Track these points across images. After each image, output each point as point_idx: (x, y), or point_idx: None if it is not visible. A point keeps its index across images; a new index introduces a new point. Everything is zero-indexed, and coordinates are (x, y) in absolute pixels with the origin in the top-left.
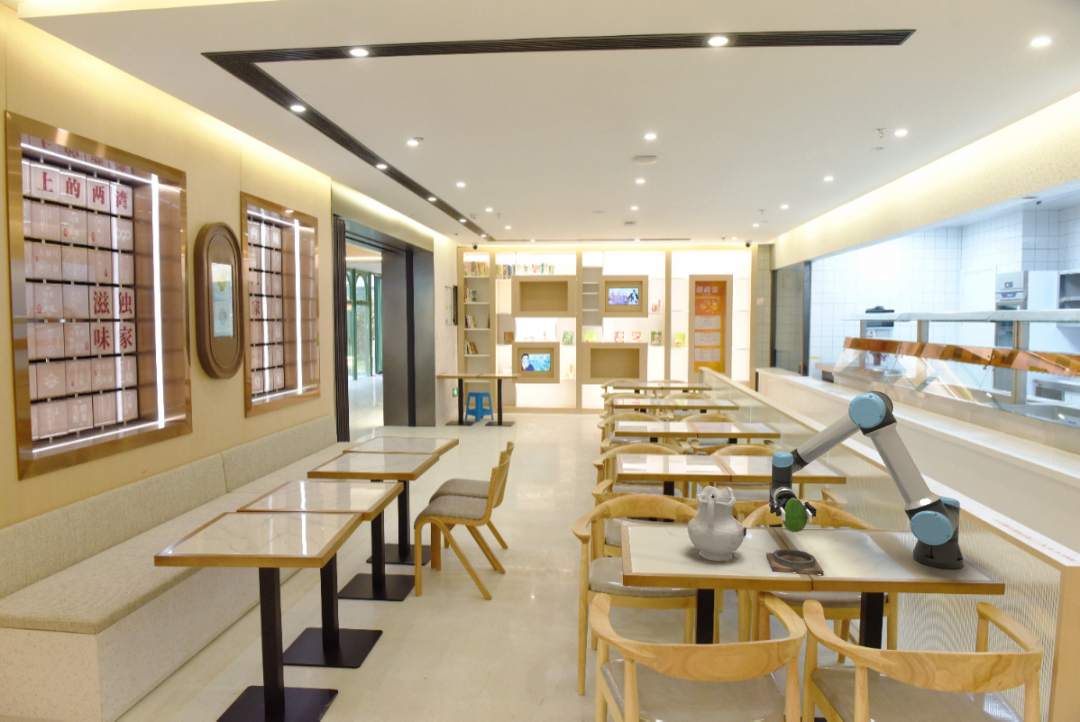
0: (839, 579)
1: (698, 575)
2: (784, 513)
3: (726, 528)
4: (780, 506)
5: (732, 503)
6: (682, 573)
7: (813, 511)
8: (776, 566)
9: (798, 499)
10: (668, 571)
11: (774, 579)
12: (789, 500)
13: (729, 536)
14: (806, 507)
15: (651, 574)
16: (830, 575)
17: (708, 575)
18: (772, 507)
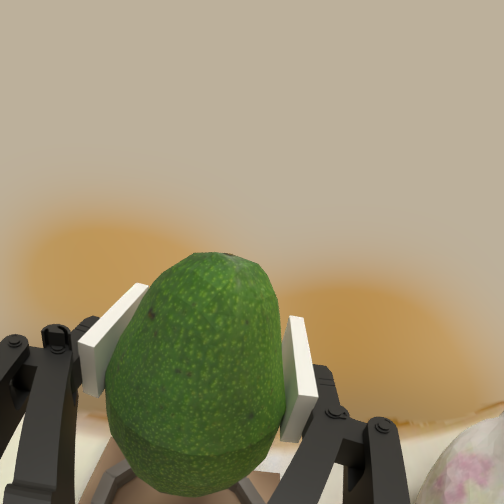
0: (81, 417)
1: (443, 425)
2: (293, 320)
3: (484, 423)
4: (309, 428)
5: None
6: (469, 425)
7: (36, 350)
8: (265, 477)
9: (183, 260)
10: None
11: (279, 433)
12: (267, 278)
13: (458, 435)
14: (41, 384)
15: (499, 409)
16: (88, 442)
17: (428, 430)
18: (375, 423)
